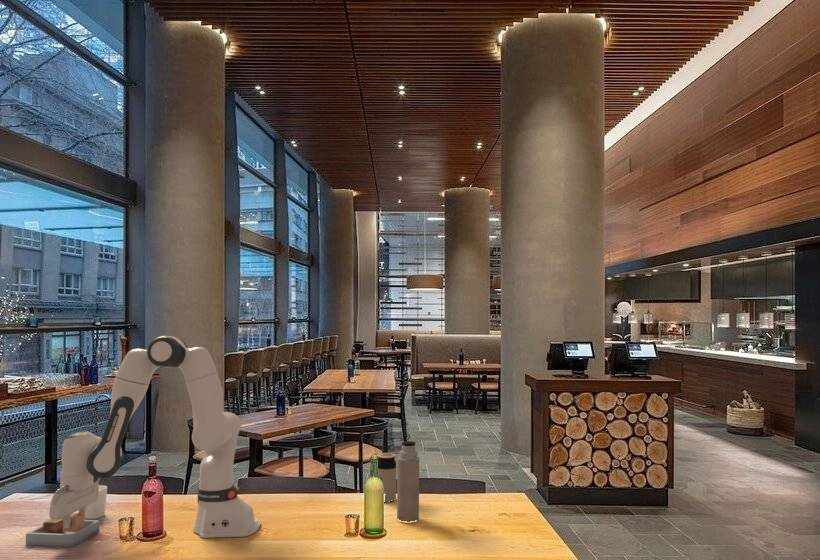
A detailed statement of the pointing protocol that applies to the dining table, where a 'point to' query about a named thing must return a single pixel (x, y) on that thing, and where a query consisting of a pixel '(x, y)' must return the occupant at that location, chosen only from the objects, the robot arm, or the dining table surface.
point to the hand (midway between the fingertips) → (73, 524)
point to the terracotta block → (75, 522)
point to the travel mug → (388, 474)
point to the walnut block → (53, 526)
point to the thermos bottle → (408, 483)
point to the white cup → (97, 505)
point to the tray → (62, 535)
